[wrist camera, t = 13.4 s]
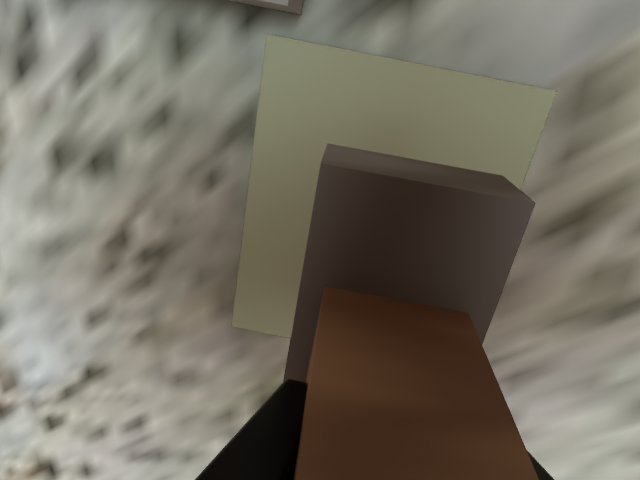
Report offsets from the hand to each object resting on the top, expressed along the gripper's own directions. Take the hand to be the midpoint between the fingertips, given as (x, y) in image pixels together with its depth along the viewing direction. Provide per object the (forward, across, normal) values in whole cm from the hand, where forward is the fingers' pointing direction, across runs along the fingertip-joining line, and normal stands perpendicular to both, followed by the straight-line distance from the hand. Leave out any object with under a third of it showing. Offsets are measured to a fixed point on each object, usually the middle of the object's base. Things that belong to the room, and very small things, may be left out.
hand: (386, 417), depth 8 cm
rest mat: (+11, 0, 0) cm, 11 cm away
